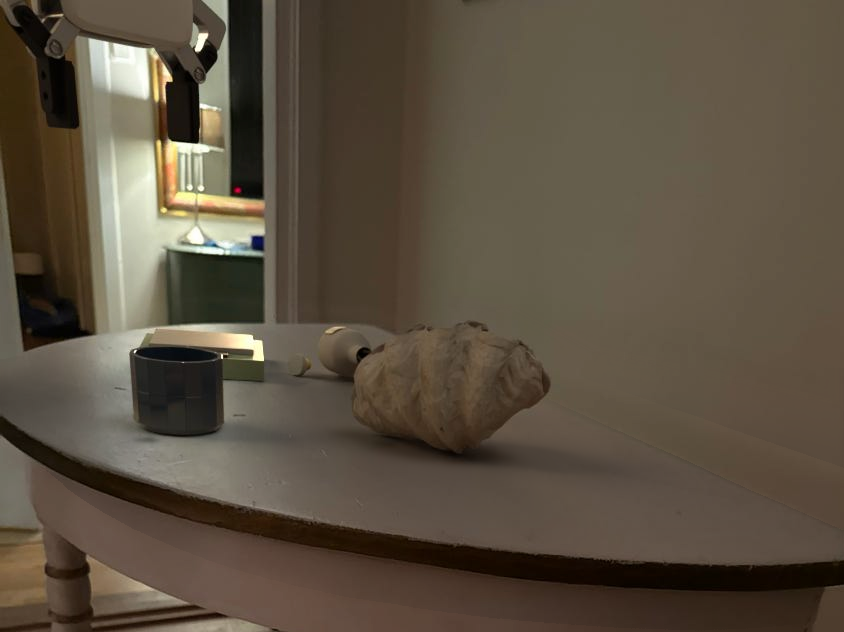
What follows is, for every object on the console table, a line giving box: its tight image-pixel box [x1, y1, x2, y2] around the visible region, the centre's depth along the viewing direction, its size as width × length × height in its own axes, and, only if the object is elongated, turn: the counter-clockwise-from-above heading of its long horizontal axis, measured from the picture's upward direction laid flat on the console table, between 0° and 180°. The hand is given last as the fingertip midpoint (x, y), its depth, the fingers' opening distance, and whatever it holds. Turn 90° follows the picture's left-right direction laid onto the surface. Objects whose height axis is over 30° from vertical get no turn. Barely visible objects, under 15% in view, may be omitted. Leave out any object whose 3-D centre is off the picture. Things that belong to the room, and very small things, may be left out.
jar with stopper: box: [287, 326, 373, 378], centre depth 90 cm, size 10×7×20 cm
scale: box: [139, 328, 265, 382], centre depth 94 cm, size 12×12×3 cm
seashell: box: [350, 319, 552, 454], centre depth 73 cm, size 10×15×10 cm
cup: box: [128, 346, 225, 436], centre depth 71 cm, size 7×7×6 cm
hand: (126, 135), depth 66 cm, fingers open, 9 cm apart
